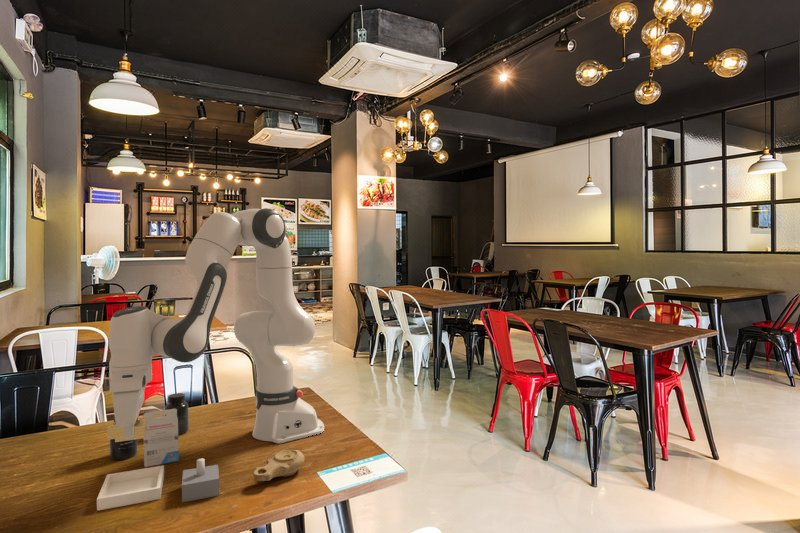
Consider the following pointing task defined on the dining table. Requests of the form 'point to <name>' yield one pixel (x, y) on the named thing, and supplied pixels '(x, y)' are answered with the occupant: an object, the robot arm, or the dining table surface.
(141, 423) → the tan square frame block
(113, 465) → the dining table surface
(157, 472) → the tray
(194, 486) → the grey pegged cube
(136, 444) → the supplement bottle
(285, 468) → the oil lamp
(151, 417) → the ink box
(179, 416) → the supplement bottle
